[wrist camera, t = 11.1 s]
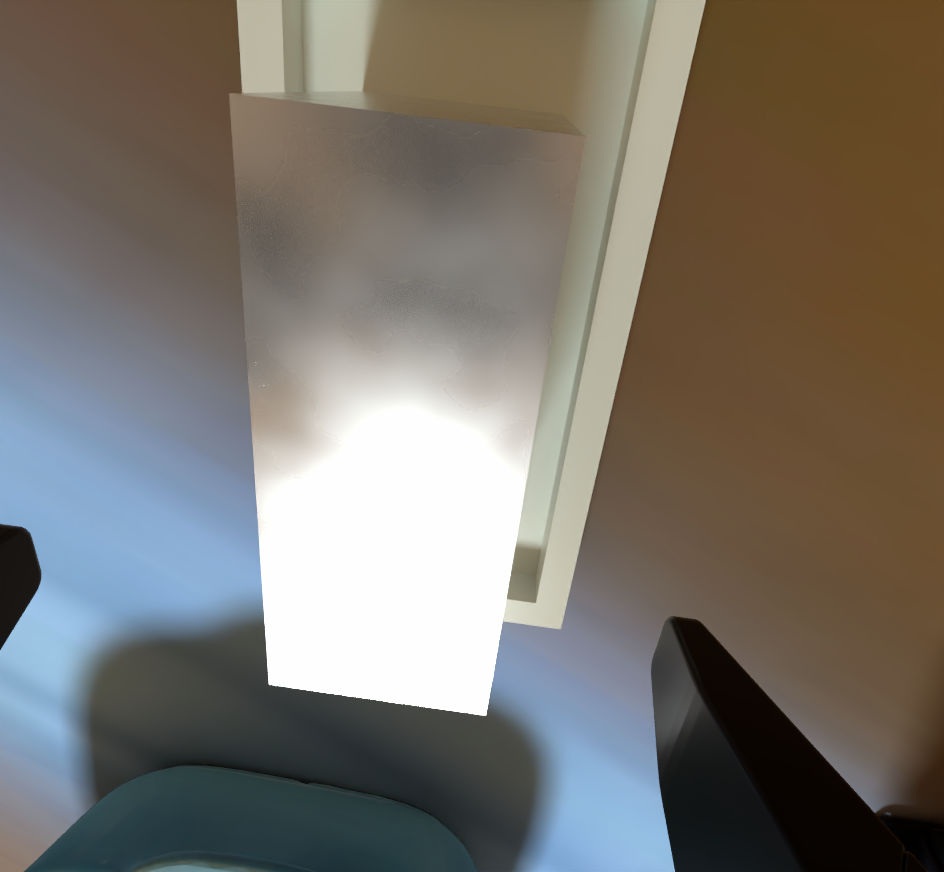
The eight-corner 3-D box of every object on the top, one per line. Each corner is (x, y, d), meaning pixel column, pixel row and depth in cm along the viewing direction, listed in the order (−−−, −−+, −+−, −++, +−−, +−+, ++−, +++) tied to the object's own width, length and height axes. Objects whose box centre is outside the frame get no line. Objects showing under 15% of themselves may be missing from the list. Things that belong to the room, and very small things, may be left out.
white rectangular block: (562, 115, 16) (585, 136, 9) (501, 512, 22) (486, 715, 15) (362, 90, 16) (229, 92, 9) (354, 492, 22) (268, 684, 15)
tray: (558, 585, 24) (560, 629, 22) (293, 549, 24) (272, 589, 22) (696, -44, 15) (720, -63, 13) (268, -92, 15) (229, -118, 13)
